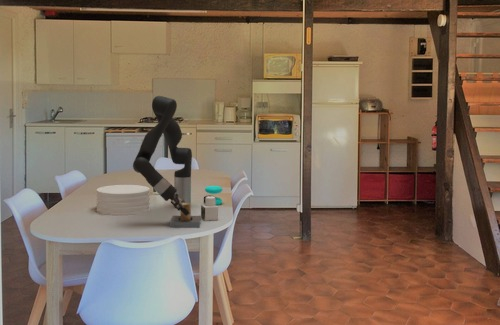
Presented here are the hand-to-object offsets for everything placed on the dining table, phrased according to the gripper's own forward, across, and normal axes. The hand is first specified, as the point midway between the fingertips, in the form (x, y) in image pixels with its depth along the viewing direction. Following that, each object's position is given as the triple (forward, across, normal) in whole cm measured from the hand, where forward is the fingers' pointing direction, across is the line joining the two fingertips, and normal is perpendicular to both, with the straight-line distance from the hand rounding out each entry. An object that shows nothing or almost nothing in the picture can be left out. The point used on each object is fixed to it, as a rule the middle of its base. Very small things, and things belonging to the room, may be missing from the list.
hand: (188, 212), depth 273 cm
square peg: (+3, 0, +5) cm, 6 cm away
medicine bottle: (+11, +11, -3) cm, 16 cm away
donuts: (+12, +50, -4) cm, 52 cm away
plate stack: (-22, +32, +31) cm, 50 cm away
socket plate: (+3, 0, +5) cm, 6 cm away
